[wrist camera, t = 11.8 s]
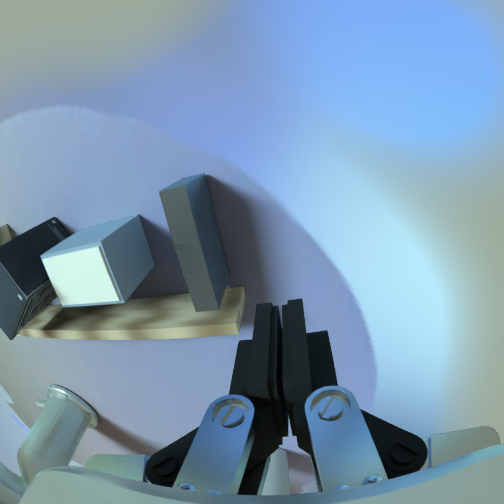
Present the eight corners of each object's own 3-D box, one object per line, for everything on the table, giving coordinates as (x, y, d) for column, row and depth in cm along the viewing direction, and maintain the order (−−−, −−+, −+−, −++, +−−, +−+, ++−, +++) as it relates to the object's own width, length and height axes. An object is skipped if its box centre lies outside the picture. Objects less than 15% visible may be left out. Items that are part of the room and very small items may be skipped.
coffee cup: (232, 448, 42) (221, 519, 29) (278, 437, 40) (275, 516, 26) (261, 466, 45) (256, 529, 31) (304, 456, 42) (305, 524, 29)
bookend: (209, 278, 28) (195, 312, 23) (183, 178, 24) (159, 191, 19) (229, 275, 28) (219, 309, 22) (204, 173, 24) (185, 185, 19)
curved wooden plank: (39, 313, 33) (17, 335, 28) (3, 225, 28) (-26, 241, 23) (245, 296, 29) (238, 334, 23) (212, 153, 24) (194, 160, 18)
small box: (53, 212, 27) (-11, 247, 17) (87, 252, 29) (29, 299, 19) (28, 264, 30) (-22, 302, 21) (57, 298, 32) (12, 343, 22)
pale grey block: (97, 273, 30) (61, 308, 23) (81, 229, 28) (38, 256, 21) (155, 264, 28) (123, 304, 22) (139, 214, 26) (99, 242, 20)
